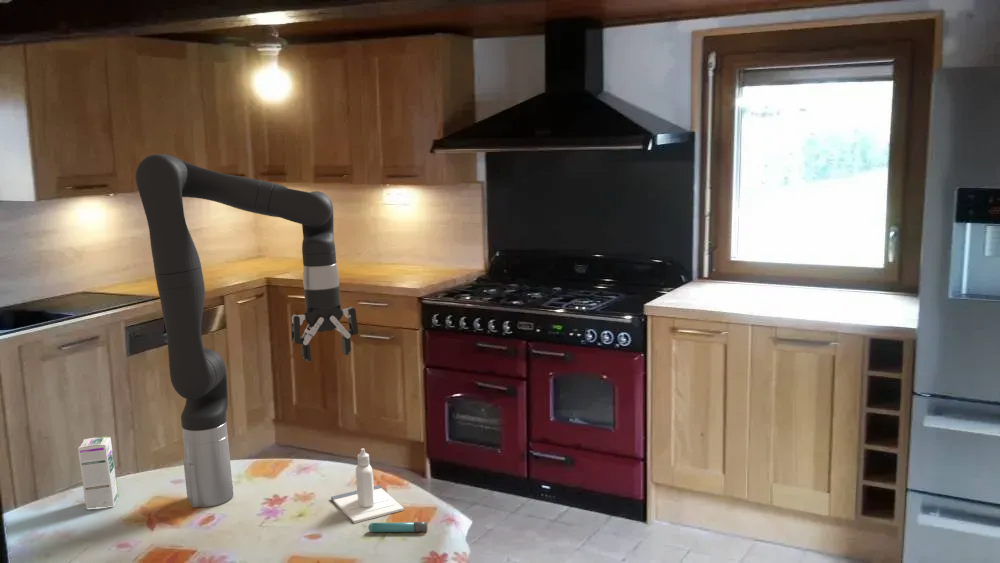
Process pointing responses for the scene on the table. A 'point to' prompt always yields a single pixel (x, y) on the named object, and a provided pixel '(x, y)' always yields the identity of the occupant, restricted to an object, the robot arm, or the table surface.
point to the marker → (399, 527)
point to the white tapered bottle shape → (364, 480)
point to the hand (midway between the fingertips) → (326, 357)
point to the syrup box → (98, 472)
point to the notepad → (358, 513)
